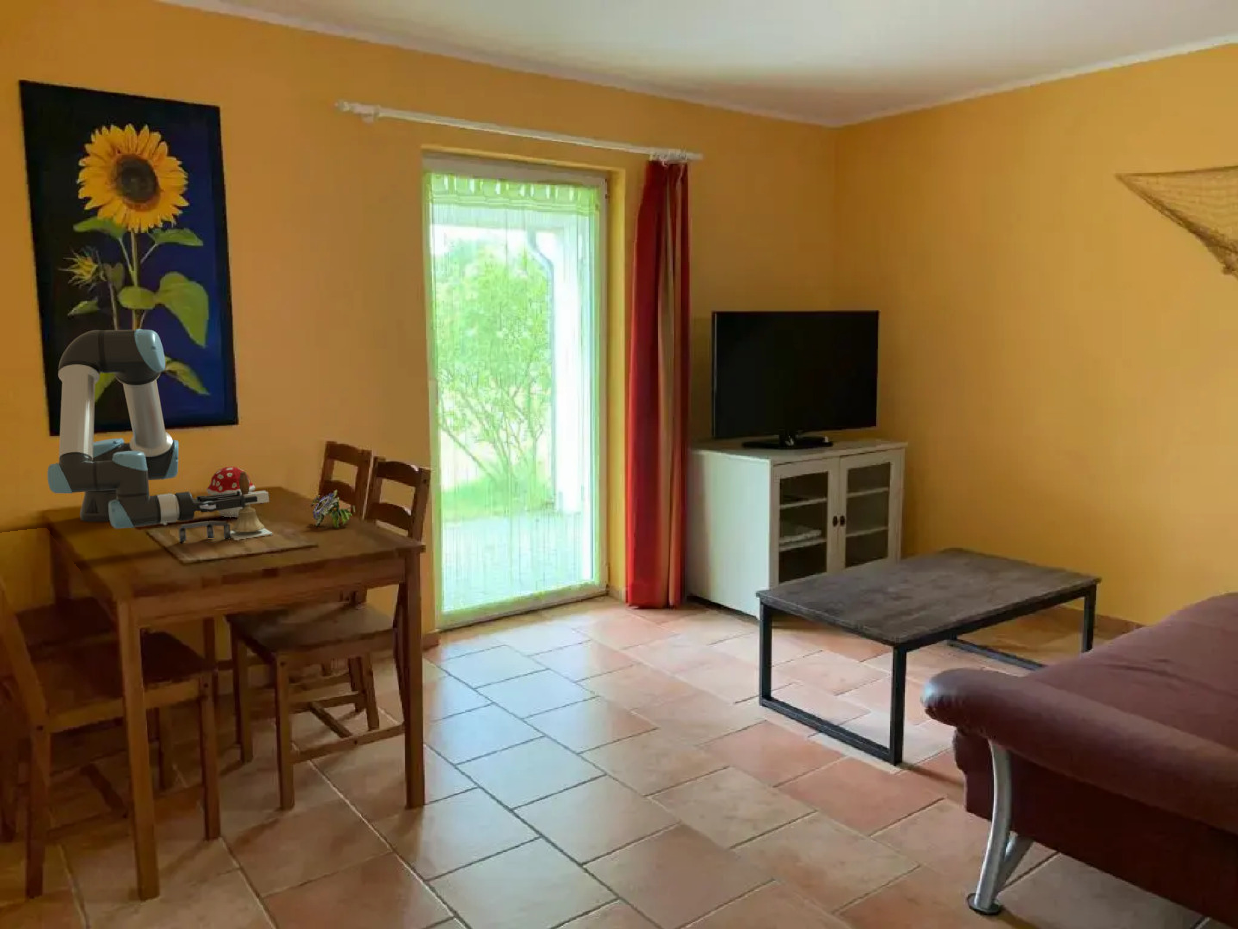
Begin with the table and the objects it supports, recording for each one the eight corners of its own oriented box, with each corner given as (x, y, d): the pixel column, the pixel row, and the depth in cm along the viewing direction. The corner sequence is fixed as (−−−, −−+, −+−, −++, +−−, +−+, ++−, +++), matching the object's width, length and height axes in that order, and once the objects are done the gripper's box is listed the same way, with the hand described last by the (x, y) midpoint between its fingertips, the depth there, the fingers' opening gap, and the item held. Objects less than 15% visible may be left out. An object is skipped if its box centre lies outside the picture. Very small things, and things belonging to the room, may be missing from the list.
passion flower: (320, 544, 275) (302, 508, 278) (355, 531, 281) (338, 496, 284) (326, 529, 266) (308, 492, 269) (362, 516, 272) (345, 480, 275)
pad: (225, 534, 266) (224, 532, 265) (262, 528, 271) (261, 526, 271) (235, 540, 258) (234, 538, 257) (272, 535, 263) (272, 533, 263)
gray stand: (179, 542, 257) (177, 524, 256) (226, 535, 264) (225, 518, 263) (183, 546, 253) (182, 528, 252) (231, 539, 260) (230, 521, 259)
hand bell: (253, 532, 259) (249, 474, 257) (225, 532, 261) (221, 474, 258) (270, 526, 267) (266, 469, 265) (243, 525, 269) (239, 469, 267)
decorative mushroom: (197, 519, 285) (193, 469, 283) (230, 510, 298) (226, 462, 296) (236, 522, 281) (232, 471, 278) (267, 512, 294) (264, 464, 292)
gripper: (170, 516, 259) (260, 505, 272) (183, 526, 247) (276, 513, 261) (168, 489, 258) (258, 479, 271) (180, 497, 246) (274, 486, 260)
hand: (266, 496), depth 266 cm, fingers closed on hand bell, 2 cm apart
